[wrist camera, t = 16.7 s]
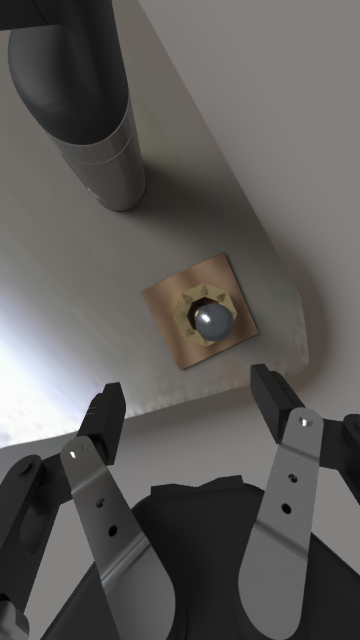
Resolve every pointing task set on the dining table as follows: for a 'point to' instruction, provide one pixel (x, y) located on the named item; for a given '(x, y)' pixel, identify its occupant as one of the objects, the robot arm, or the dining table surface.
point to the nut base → (189, 290)
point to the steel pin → (213, 321)
